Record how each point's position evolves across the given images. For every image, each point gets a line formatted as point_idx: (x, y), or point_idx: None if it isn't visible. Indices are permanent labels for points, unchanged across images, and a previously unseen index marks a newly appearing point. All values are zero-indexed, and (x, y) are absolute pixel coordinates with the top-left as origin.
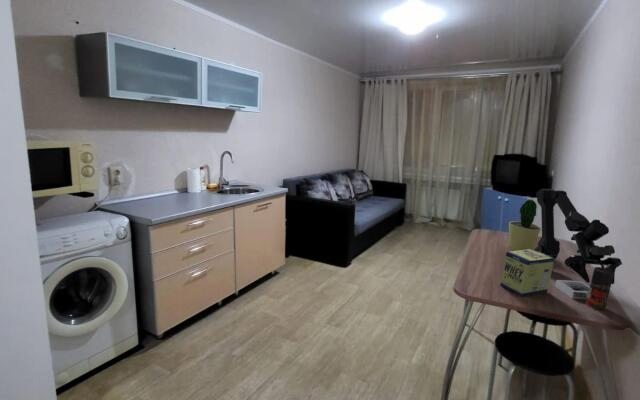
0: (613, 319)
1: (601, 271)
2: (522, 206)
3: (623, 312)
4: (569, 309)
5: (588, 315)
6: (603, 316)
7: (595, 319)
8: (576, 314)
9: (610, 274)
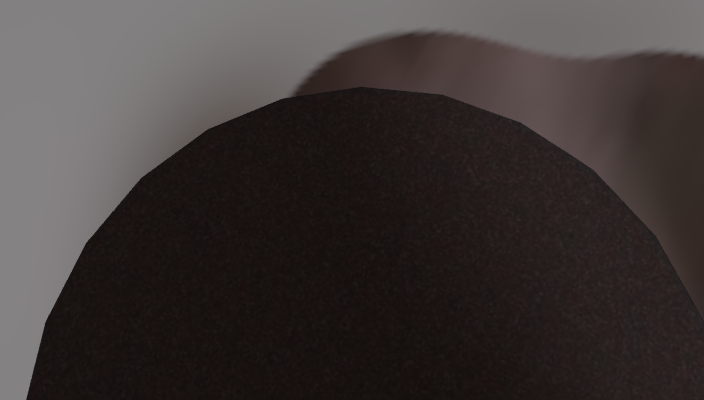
0: None
1: (573, 207)
2: None
3: None
4: (672, 178)
5: (537, 111)
6: None
7: (508, 58)
8: (641, 98)
9: (307, 111)
